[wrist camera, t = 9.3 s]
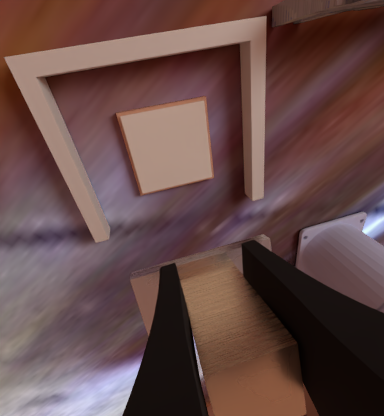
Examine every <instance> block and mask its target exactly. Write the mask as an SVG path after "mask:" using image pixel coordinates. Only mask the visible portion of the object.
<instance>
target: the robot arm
mask: <svg viewBox="0 0 384 416" xmlns="http://www.w3.org/2000/svg"><path fill="white" fill-rule="evenodd" d="M366 216H367V214H366V213H364V212H359V213H356V214H352V215H349V216H346V217H342V218H339V219H335V220H332V221H329V222H325V223H322V224H318V225H315V226H312V227H308V228H305V229H302V230H301V231H300V235H299V243H298V251H297V258H296V266H295V267H294V266H293V265H291V264H290V263H288V262H286V261H285V260H283V259H282V258H280V257H279V256H277V255H276V254H275V253H273V252H272V251H270V250H269V249H267V248H266V247H264V246H263V245H261V244H260V243H259V242H257V241H256V240H251V241H248V242H244V243H241V244H242V265H243V276H244V278H245V279H246V280H247V281H248V283H249V284H250V285H251V286H252V288H253V289H254V290H255V291H256V292H257V293H258V294H259V296H260V297H261V298H262V299H263V301H264V302H265V303H266V304H267V306H268V307H269V308H270V309H271V311H272V312H273V313H274V314H275V316H276V317H277V318H278V319H279V321H280V322H281V323H282V324H283V326H284V327H285V328H286V329H287V331H288V332H289V333H290V334H291V336H292V337H293V338H294V339H295V341H296V342H297V343H298V350H299V358H300V366H301V374H302V381H303V383H304V385H305V387H306V389H307V391H308V393H309V395H310V397H311V399H312V401H313V403H314V405H315V407H316V409H317V412H318V414H319V416H384V246H383V245H381V244H380V243H378V242H377V241H375V240H373V239H372V238H370V237H369V236H367V235H366V234H364V233H363V232H362V229H363V226H364V223H365V220H366ZM123 416H209V415H208V411H207V407H206V403H205V399H204V395H203V390H202V386H201V381H200V376H199V371H198V365H197V359H196V353H195V347H194V341H193V335H192V329H191V323H190V319H189V315H188V309H187V305H186V301H185V297H184V293H183V289H182V286H181V282H180V278H179V274H178V271H177V267H176V263H172V264H169V265H165V266H162V267H161V268H160V277H159V288H158V295H157V301H156V307H155V312H154V317H153V321H152V325H151V329H150V334H149V338H148V341H147V345H146V349H145V352H144V355H143V359H142V362H141V365H140V368H139V371H138V374H137V377H136V380H135V383H134V386H133V389H132V391H131V394H130V397H129V400H128V402H127V405H126V408H125V410H124V413H123Z"/></svg>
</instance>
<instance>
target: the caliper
mask: <svg viewBox="0 0 384 416" xmlns="http://www.w3.org/2000/svg"><path fill="white" fill-rule="evenodd" d="M382 6H384V0H285V1H283V2H281V3H279V4H277V5H275V6H273V7H272V27H277V26H281V25H284V24H287V23H291V22H294V23H293V24H297V23H302V22H306V21H310V20H313V19H317V18H321V17H325V16H329V15H333V14H337V13H341V12H344V11H350V10H364V9H373V8H378V7H382Z"/></svg>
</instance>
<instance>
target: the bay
mask: <svg viewBox="0 0 384 416" xmlns="http://www.w3.org/2000/svg"><path fill="white" fill-rule="evenodd" d="M266 18H267V16H262V17H256V18H250V19H243V20H237V21H231V22H224V23H218V24H212V25H205V26H199V27H193V28H186V29H180V30H174V31H168V32H161V33H155V34H149V35H142V36H136V37H130V38H123V39H117V40H111V41H104V42H98V43H92V44H85V45H79V46H73V47H66V48H60V49H54V50H47V51H41V52H35V53H28V54H22V55H16V56H9V57H4V58H5V60H6V62H7V64H8V66H9V68H10V70H11V72H12V74H13V76H14V78H15V80H16V83H17V85H18V87H19V89H20V91H21V93H22V95H23V97H24V99H25V101H26V103H27V105H28V107H29V109H30V111H31V113H32V115H33V117H34V119H35V121H36V123H37V125H38V127H39V129H40V131H41V133H42V135H43V137H44V139H45V141H46V143H47V145H48V147H49V149H50V151H51V153H52V155H53V157H54V159H55V161H56V163H57V165H58V167H59V169H60V171H61V173H62V175H63V177H64V180H65V182H66V184H67V186H68V188H69V190H70V192H71V194H72V196H73V198H74V200H75V202H76V204H77V206H78V208H79V210H80V212H81V214H82V216H83V218H84V220H85V222H86V224H87V226H88V228H89V230H90V232H91V234H92V236H93V238H94V240H95V242H96V243H97V242H101V241H105V240H108V239H109V235H110V227H109V224H108V222H107V220H106V217H105V215H104V213H103V211H102V208H101V206H100V204H99V201H98V199H97V197H96V194H95V192H94V190H93V187H92V185H91V183H90V180H89V178H88V176H87V173H86V171H85V169H84V167H83V164H82V162H81V160H80V157H79V155H78V153H77V150H76V148H75V146H74V143H73V141H72V139H71V136H70V134H69V132H68V129H67V127H66V125H65V122H64V120H63V118H62V116H61V113H60V111H59V109H58V106H57V104H56V102H55V99H54V97H53V95H52V92H51V90H50V88H49V85H48V83H47V81H46V78H45V77H49V76H54V75H60V74H66V73H72V72H78V71H83V70H89V69H95V68H101V67H107V66H112V65H118V64H124V63H130V62H136V61H142V60H147V59H153V58H159V57H165V56H171V55H176V54H182V53H188V52H194V51H200V50H206V49H211V48H217V47H223V46H229V45H235V44H240V64H241V94H242V124H243V155H244V185H245V194H246V195H247V196H248V197H249V198H250V199H251V200H252V201H254V200H258V199H262V198H263V196H264V137H265V77H266Z"/></svg>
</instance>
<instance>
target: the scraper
mask: <svg viewBox="0 0 384 416" xmlns="http://www.w3.org/2000/svg"><path fill="white" fill-rule="evenodd" d="M251 240H256V241H257V242H259V243H260V244H261V245H263V246H264V247H266V248H267V249H269V250H270V251H272V250H271V243H270V239H269V238H268V237H266V236H265V235H263V234H262V235H259V236H255V237H252V238H248V239H245V240H242V241H238V242H235V243H231V244H228V245H224V246H221V247H217V248H214V249H210V250H207V251H204V252H200V253H197V254H193V255H190V256H186V257H183V258H179V259H176V260H172V261H169V262H166V263H162V264H159V265H155V266H152V267H148V268H145V269H141V270H138V271H134V272H131V277H130V281H131V284H132V287H133V290H134V293H135V296H136V300H137V303H138V306H139V309H140V312H141V315H142V318H143V321H144V324H145V327H146V330H147V333H148V336H149V334H150V329H151V325H152V321H153V317H154V312H155V307H156V301H157V295H158V288H159V277H160V268H161V267H162V266H165V265H169V264H172V263H176V267H177V271H178V274H179V278H180V282H181V286H182V289H183V293H184V297H185V301H186V305H187V309H188V315H189V319H190V323H191V327H192V331H193V335H194V339H195V343H196V347H197V351H198V355H199V359H200V363H201V367H202V371H203V375H204V379H205V383H206V387H207V391H208V394H209V398H210V402H211V406H212V409H213V413H214V416H302V415H305V414H306V406H305V398H304V391H303V382H302V374H301V366H300V358H299V350H298V343H297V342H296V341H295V339H294V338H293V337H292V336H291V334H290V333H289V332H288V331H287V329H286V328H285V327H284V326H283V324H282V323H281V322H280V321H279V319H278V318H277V317H276V316H275V314H274V313H273V312H272V311H271V309H270V308H269V307H268V306H267V304H266V303H265V302H264V301H263V299H262V298H261V297H260V296H259V294H258V293H257V292H256V291H255V290H254V289H253V288H252V286H251V285H250V284H249V283H248V281H247V280H246V279H245V278H244V276H243V265H242V244H241V243H244V242H248V241H251Z"/></svg>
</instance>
